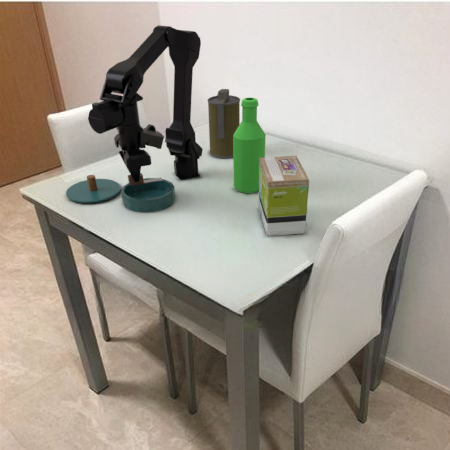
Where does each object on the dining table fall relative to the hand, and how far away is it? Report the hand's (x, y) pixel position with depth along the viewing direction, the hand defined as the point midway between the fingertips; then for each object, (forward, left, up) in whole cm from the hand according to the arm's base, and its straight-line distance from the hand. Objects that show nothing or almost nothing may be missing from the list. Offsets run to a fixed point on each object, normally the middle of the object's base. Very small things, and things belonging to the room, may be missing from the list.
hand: (136, 180), depth 134 cm
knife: (-3, 0, -1) cm, 3 cm away
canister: (-35, -26, -7) cm, 44 cm away
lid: (+11, -11, -6) cm, 17 cm away
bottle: (-32, +3, -7) cm, 33 cm away
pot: (-3, 0, -6) cm, 7 cm away
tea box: (-32, +25, -7) cm, 41 cm away
